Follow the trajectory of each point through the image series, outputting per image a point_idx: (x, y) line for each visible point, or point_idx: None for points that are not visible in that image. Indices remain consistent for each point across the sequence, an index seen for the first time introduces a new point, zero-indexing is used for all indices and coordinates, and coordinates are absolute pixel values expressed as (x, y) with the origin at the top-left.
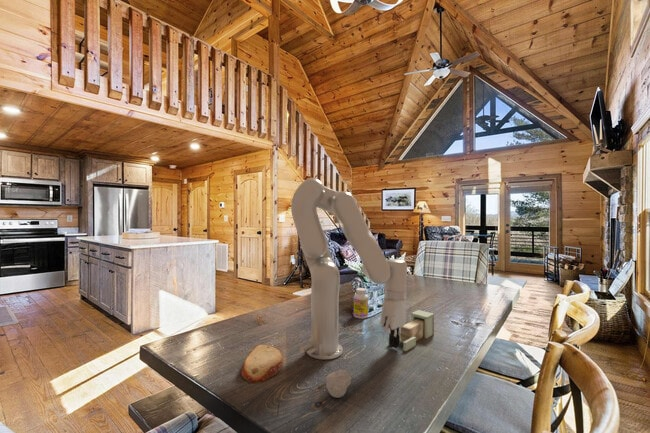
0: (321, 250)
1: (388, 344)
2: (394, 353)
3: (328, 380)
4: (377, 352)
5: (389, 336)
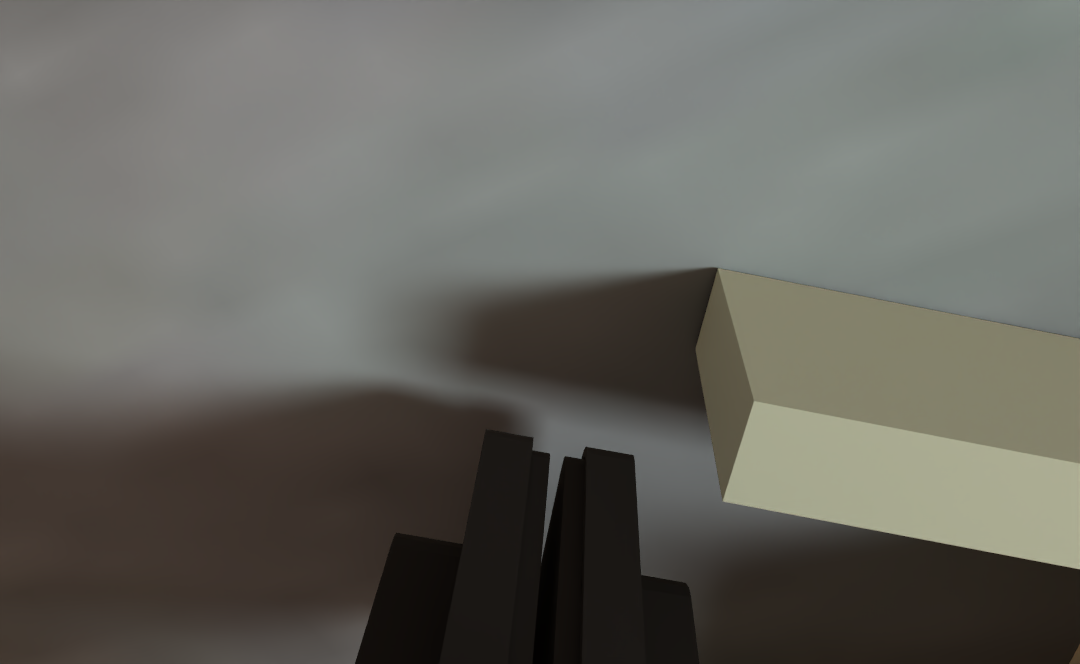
0: None
1: (712, 290)
2: (304, 575)
3: None
4: (17, 194)
5: (446, 636)
